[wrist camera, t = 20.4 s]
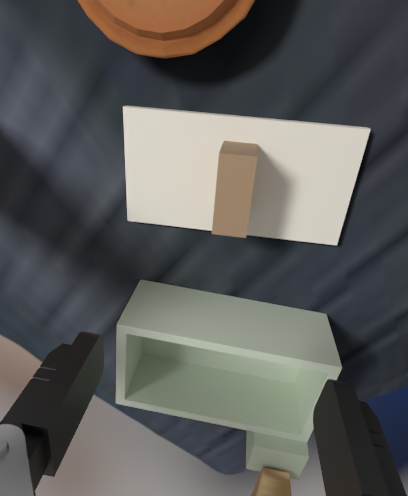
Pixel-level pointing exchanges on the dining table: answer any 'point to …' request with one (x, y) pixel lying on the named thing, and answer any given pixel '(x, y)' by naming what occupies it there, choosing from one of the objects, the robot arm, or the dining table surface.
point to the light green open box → (227, 366)
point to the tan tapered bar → (272, 483)
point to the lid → (240, 173)
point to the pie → (166, 23)
